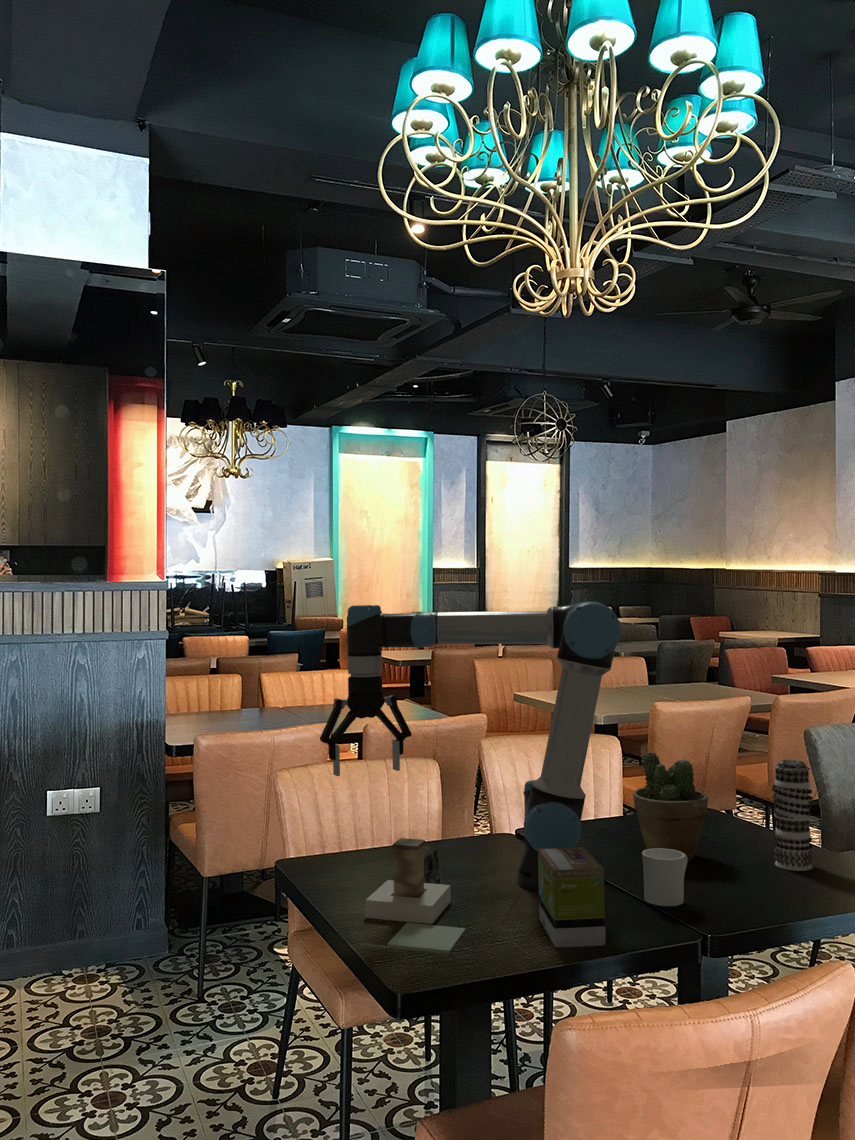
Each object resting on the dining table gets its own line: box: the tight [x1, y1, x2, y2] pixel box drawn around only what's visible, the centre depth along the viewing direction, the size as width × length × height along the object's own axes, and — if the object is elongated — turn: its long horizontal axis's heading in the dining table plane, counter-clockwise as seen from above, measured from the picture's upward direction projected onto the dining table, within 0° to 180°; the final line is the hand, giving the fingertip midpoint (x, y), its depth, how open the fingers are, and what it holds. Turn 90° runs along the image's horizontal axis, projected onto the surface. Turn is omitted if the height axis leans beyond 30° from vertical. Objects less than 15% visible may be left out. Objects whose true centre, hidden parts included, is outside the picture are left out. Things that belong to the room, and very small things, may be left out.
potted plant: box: [632, 751, 709, 862], centre depth 235 cm, size 18×19×25 cm
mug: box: [641, 848, 689, 909], centre depth 200 cm, size 11×9×10 cm
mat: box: [386, 922, 467, 955], centre depth 178 cm, size 12×12×1 cm
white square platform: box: [365, 879, 452, 925], centre depth 194 cm, size 14×14×4 cm
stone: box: [424, 845, 443, 885], centre depth 212 cm, size 10×10×10 cm
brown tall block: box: [391, 837, 426, 898], centre depth 194 cm, size 5×5×14 cm
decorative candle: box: [771, 759, 814, 872], centre depth 226 cm, size 9×9×25 cm
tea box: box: [538, 846, 606, 948], centre depth 181 cm, size 15×10×15 cm, turn 5°
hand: (366, 772), depth 205 cm, fingers open, 13 cm apart
